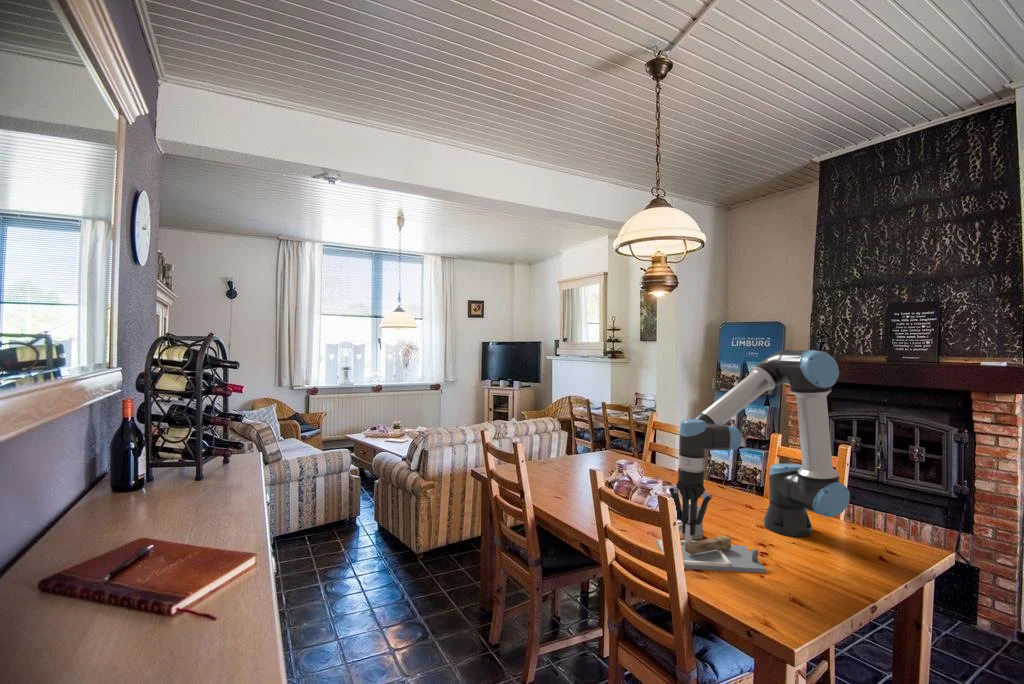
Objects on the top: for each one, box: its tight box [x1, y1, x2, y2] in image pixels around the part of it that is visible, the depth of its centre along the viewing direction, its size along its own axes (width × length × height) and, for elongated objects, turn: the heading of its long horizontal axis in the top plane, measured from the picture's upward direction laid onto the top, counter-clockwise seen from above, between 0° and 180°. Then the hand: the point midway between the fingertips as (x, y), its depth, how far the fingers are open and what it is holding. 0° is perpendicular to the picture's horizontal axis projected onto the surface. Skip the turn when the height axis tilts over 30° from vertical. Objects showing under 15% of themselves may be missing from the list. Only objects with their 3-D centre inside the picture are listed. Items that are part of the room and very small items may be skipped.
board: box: [655, 538, 767, 574], centre depth 149 cm, size 28×16×4 cm, turn 84°
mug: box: [678, 503, 705, 541], centre depth 166 cm, size 8×12×12 cm, turn 102°
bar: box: [685, 535, 732, 554], centre depth 150 cm, size 16×4×2 cm, turn 111°
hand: (688, 544), depth 150 cm, fingers closed
